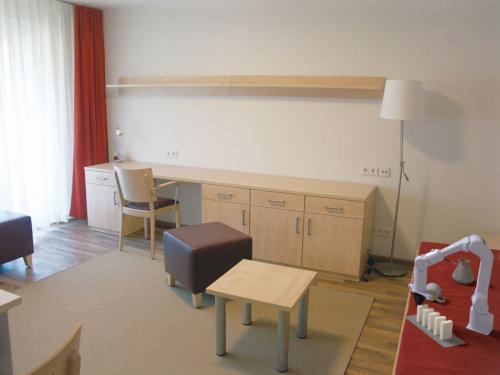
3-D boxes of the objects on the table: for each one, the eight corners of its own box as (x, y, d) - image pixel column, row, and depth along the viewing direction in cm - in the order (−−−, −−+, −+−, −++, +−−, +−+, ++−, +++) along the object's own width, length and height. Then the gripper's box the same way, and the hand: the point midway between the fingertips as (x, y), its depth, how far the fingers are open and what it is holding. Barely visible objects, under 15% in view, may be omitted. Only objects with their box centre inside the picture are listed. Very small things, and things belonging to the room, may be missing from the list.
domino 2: (421, 325, 204) (422, 309, 202) (430, 323, 205) (432, 307, 203) (424, 326, 202) (425, 311, 201) (433, 324, 203) (434, 309, 202)
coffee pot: (472, 278, 254) (474, 254, 251) (475, 286, 243) (477, 261, 240) (432, 274, 260) (434, 251, 257) (434, 282, 250) (436, 258, 247)
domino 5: (439, 338, 192) (440, 321, 191) (448, 336, 194) (450, 320, 192) (442, 340, 191) (443, 323, 189) (451, 338, 192) (452, 321, 191)
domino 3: (427, 329, 200) (428, 313, 198) (436, 327, 201) (437, 311, 200) (429, 330, 198) (430, 315, 197) (438, 329, 200) (440, 313, 198)
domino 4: (433, 333, 196) (434, 317, 194) (442, 331, 197) (443, 315, 196) (435, 335, 195) (436, 319, 193) (445, 333, 196) (446, 317, 194)
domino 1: (416, 320, 207) (417, 305, 206) (425, 319, 209) (426, 304, 207) (418, 322, 206) (419, 307, 204) (427, 320, 207) (428, 305, 206)
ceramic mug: (421, 300, 229) (422, 286, 227) (425, 294, 235) (426, 281, 234) (443, 305, 223) (444, 291, 221) (446, 299, 229) (447, 286, 228)
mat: (404, 317, 212) (404, 316, 212) (423, 313, 215) (423, 313, 214) (444, 348, 185) (444, 347, 185) (465, 343, 188) (465, 343, 188)
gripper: (403, 276, 212) (402, 301, 215) (422, 288, 198) (421, 315, 201) (416, 274, 214) (414, 299, 217) (435, 286, 200) (434, 312, 203)
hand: (418, 307), depth 209 cm, fingers closed
